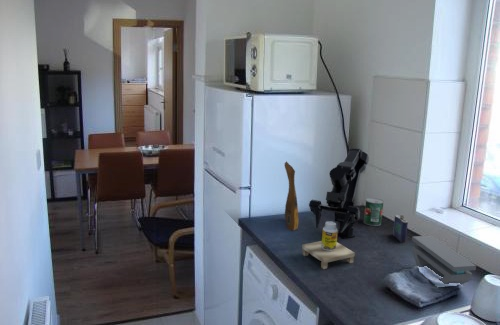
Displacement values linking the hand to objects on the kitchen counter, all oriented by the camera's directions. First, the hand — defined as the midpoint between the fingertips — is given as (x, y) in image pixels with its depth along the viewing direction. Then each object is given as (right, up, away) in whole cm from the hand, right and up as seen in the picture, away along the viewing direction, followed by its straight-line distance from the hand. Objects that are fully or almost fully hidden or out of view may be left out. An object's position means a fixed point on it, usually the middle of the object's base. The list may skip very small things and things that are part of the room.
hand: (328, 229), depth 167 cm
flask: (+35, -8, +26) cm, 44 cm away
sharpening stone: (+37, -16, -9) cm, 41 cm away
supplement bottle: (0, -8, +3) cm, 8 cm away
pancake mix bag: (-11, -3, +38) cm, 40 cm away
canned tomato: (+28, -3, +43) cm, 52 cm away
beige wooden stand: (0, -11, +4) cm, 12 cm away
